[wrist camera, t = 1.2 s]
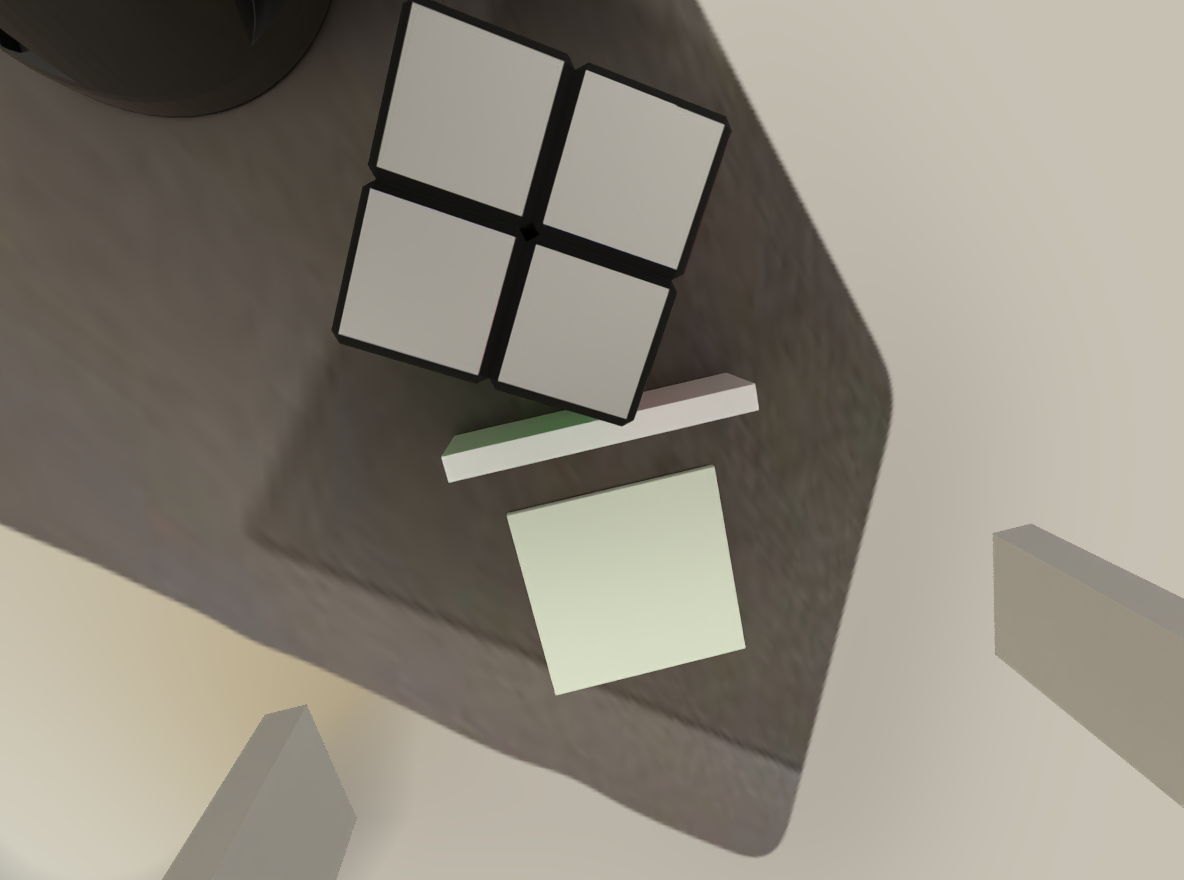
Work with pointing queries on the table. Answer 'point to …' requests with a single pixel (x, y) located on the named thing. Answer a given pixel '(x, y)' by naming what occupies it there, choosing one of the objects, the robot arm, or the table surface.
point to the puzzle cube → (524, 216)
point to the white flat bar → (596, 427)
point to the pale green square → (629, 578)
